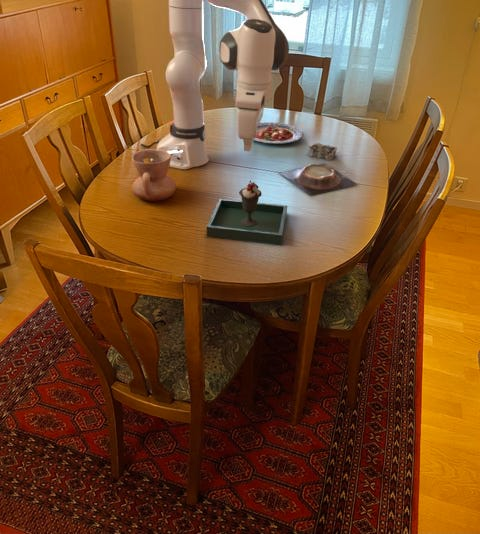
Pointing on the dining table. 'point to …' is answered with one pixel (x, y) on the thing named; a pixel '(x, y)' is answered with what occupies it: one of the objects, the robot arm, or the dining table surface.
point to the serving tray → (230, 227)
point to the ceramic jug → (153, 175)
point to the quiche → (318, 178)
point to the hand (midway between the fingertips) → (250, 143)
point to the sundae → (249, 202)
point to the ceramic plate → (277, 133)
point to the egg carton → (322, 151)
